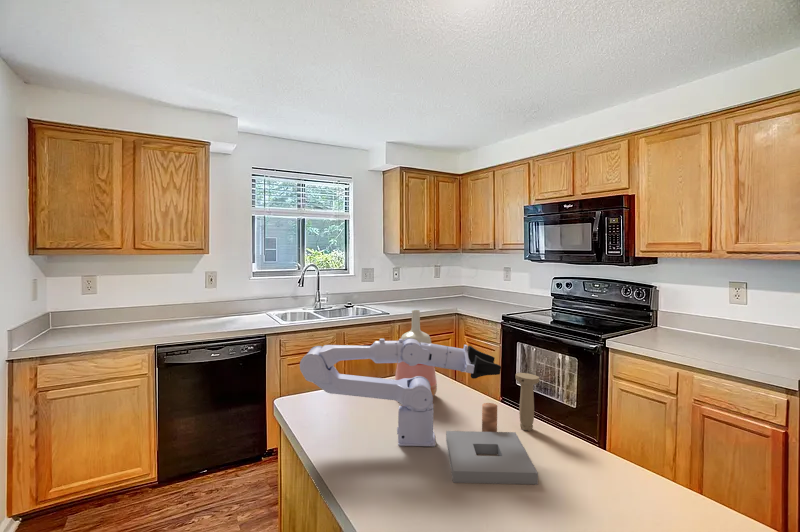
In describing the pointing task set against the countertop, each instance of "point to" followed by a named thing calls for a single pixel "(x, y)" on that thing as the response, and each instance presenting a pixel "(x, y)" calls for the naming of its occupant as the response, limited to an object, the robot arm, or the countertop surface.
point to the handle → (526, 399)
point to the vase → (419, 369)
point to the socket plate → (489, 458)
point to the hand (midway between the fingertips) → (496, 365)
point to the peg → (489, 417)
